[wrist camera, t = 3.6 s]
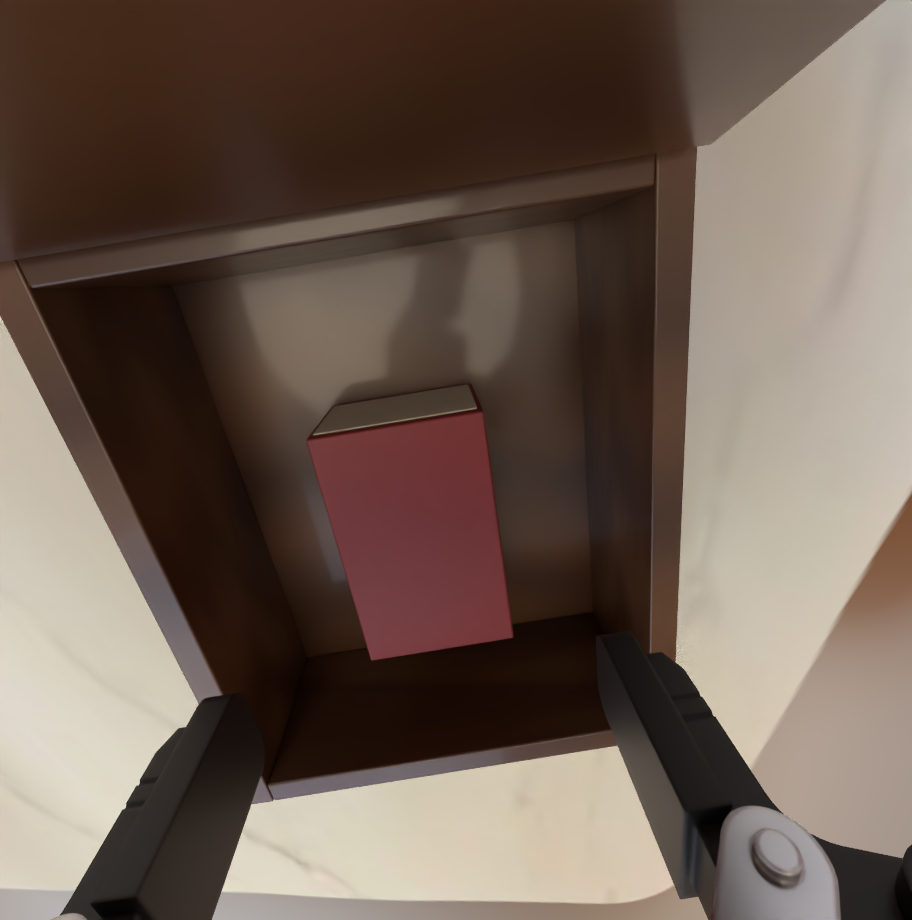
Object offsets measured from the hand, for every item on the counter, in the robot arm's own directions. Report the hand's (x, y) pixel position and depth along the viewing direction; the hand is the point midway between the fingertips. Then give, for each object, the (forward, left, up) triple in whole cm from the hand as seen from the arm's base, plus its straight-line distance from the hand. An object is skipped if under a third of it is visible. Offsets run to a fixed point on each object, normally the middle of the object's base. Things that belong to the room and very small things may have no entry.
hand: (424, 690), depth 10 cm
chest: (-1, +1, -11) cm, 11 cm away
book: (0, 0, -10) cm, 10 cm away
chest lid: (-9, +7, +7) cm, 14 cm away
